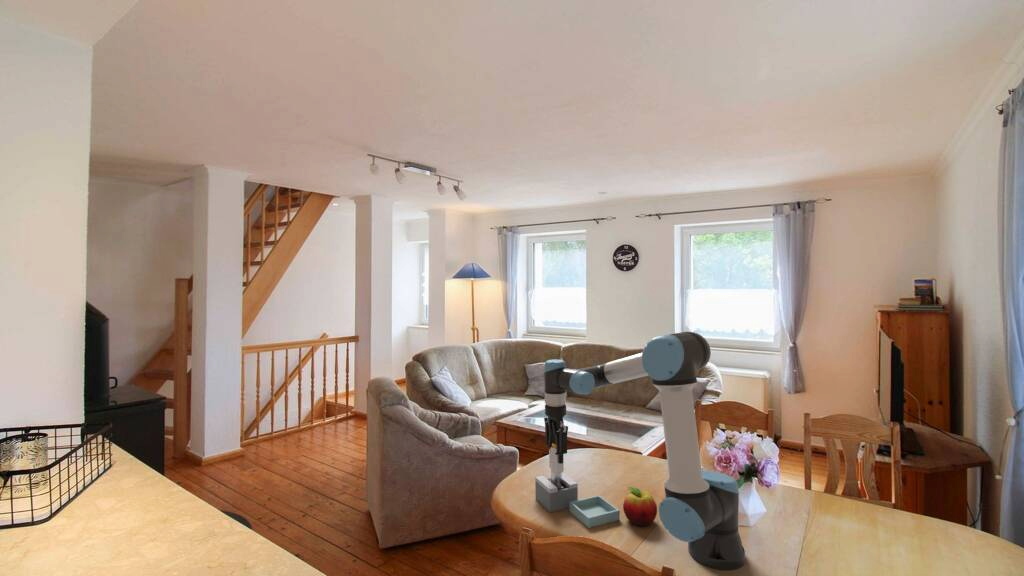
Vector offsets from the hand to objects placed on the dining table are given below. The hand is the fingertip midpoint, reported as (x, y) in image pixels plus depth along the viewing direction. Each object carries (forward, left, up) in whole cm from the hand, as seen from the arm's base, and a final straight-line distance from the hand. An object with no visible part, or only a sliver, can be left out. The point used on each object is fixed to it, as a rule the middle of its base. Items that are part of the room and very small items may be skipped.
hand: (556, 469), depth 171 cm
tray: (-13, -7, -12) cm, 19 cm away
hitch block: (0, 0, -12) cm, 12 cm away
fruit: (-23, -18, -12) cm, 32 cm away
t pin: (0, 0, -9) cm, 9 cm away
